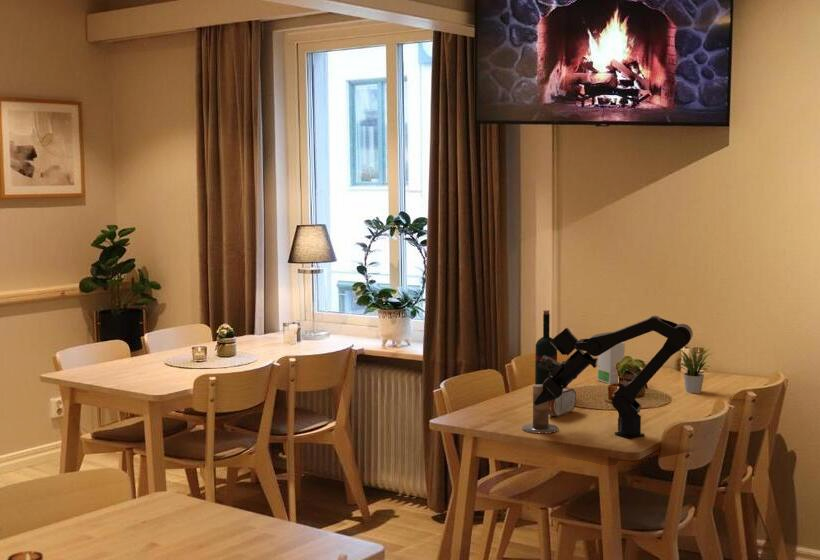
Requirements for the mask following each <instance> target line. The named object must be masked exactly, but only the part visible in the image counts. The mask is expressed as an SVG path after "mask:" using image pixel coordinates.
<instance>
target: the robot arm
mask: <svg viewBox="0 0 820 560" xmlns="http://www.w3.org/2000/svg"><path fill="white" fill-rule="evenodd" d="M651 332H655V333H656V334H659V335H661V336H662V337H664V338H666V340H665V342H664V344H663V345H662V347H661V348H660V349H659V350H658V351H657V352H656V353H655V355H654V356H653V357H652V358H651V359H650V360H649V361H648V363H646V364H645V366H644V367H643V368H642V369H641V370H640V371H639V373H638V374H637V375H636V376H635V377H634V378H633V379H632V380H631V381H629V382H627V380H625V379H623V383H620V386H618V387H617V388H616V389H615V390H614V392H613V397H612V399H611V402H612V403H611V405H612V407H613V408H614V409H615V410H616V411H617V412H618V418H617V431H615V432H614V435H617V436H621V437H623V438H626V439H631V438H632V439H633V438H639V437H644V436H645V435H646V434H645V433H643V432H641V431H642V430H641V429H642V427H641V426H642V425H641V424H642V416H641V415H640V411H641V410H642V407H643V406H642V405H641V404H640V403H639V402H638V401H637V400H636V399H637V397H638V395H639V394H640V393H641V390H643V388H644V387H645V386H646V385H647V384H648V382H649V381H650V380H651V379H652V378H653V377H654V376H655V375H656V373H657V372H658V371H659V370H660V369H661V368H662V367H663V366H664V365H665V363H666V362H668V360H669V359H670V358H671V357H672V356H673V355H675V354H676V353H678V352H679V351H680V350H682V349H683V348H684V347H686V346H687V345H688V344H689V343H690V342H691V340H692V338H693V329H692V328H691V327H690V325H688V324H685V323H679V324H678V323H675V322H674V321H671V320H667V319H664V318H661V317H660V316H658V315H651V316H650V317H648V318H647V319H643V320H642V321H638V322H635V323H633V324H630V325H627V326H625V327H622V328H620V329H617V330H615V331H609V332H603V333H602V332H601V333H597V334H594V335H591V336H590V337H589V338H580V339H578V338H577V337H576V336H575V335H574V334H573V333H572V332H571V330H570V328H568V327H565V328H564V329H563V330H561V332H559V333H558V334H557V335H556V336H554V337H552V340H551V342H550V343H551V344H552V345H553V346H554V347H555V348H556V349H557V352H559V353H560V354H561V356H569V355H570V354H571V355H570V356H569V357H568V358H567V359H566V360H562V362H559V361H558V360H557V361H556V360H554V359H552V358H550V357H547V356H545V355H544V356H543V357H542V359H541V361H540V363H539V365H538V366H539V367H540V368H543V369H545V370H547V371H549V372H550V373H549V375H548V378H547V379H546V380H545V381H544V383H543V391H542V392H541V393H540V395H539V396H538V398H537V399H536V400H535V402H534V404H535V405H539V404H541V403H544V402H547V401H550V400H553V399H557V398H559V397H560V396H561V395H562V394H563V388H566V387H568V386H569V385H570V384H571V383H572V381H574V380H575V379H577V378H578V376H579V375H580V374H581V373H582V372H583V371H584V370H585V369H587V368H588V367H589V366H590V365H591V367H592V368H594V369H596V368H598V356H599V355H601V354H602V353H604V352H606V351H607V350H609V349H610V348H612V347H614V346H615V345H617V344H619V343H622V342H624V343H625V342H627V341H630V340H632V339H634V338H637V337H641V336H642V335H645V334H648V333H651ZM574 350H576V351H574ZM573 351H574V353H572V352H573ZM551 375H552V376H551Z"/></svg>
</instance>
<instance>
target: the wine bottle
mask: <svg viewBox="0 0 820 560" xmlns="http://www.w3.org/2000/svg"><path fill="white" fill-rule="evenodd" d="M542 315H543V317H542V319H543V320H542V322H543V323H542V328H543V330H542V337H540V338H539V339H538V340H537V341H536V342H535V343H536V344H535V351H534V352H535V367H534V368H535V371H534V374H535V375H534V376H535V377H534V378H535V379H534V382H535V383H534V385H537V384H543V383H544V381H545V380H546V379H547V378H548V375H549V373H550V372H549V371H547V370H545V369H543V368H540V367H539V366H538V365H539V363H540V361H541V359H542V357H543V356H544V355H545V356H547V357H550V358H552V359H554V360H556V361H557V362H558V350H557V349H556V348H555V347H554V346H553V345H552V344H551V343H550V342H551V340H552V339H553V337H551V336H550V330H551V329H550V317H551V316H550V309H549V310H543V313H542ZM551 376H552V375H551Z"/></svg>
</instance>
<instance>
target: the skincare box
mask: <svg viewBox="0 0 820 560" xmlns="http://www.w3.org/2000/svg"><path fill="white" fill-rule="evenodd" d="M625 343H626V342H625V341H624V342H622V343H619V344H617V345H615V346H614V347H612V348H610V349H609V350H607V351H606V352H604V353H602V354H601V355H599V356H597V359H598V360H597V376H596V377H597V378H596V379H597V381H600V382H602V383H605V384H608V385H616V384H617V385H618V384H619V383H618V374H617V370H616V364H617V363H618V362H619V361H621V359H623V358H624V359H625V345H626V344H625Z"/></svg>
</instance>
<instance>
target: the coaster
mask: <svg viewBox="0 0 820 560" xmlns="http://www.w3.org/2000/svg"><path fill="white" fill-rule="evenodd" d="M521 430H522V431H524V430H525V431H524V432H526V431H528V432H527V433H529V432H537V433H538V432H540V433H546V432H547V433H548V432H554V431H557V430H558V431H559V427H558V426H557V425H554V424H550V423H549V428H548V429H544V430H539V429H534V428H533V423H528V424H527V423H526V424H524V425H523V426H522V429H521ZM558 431H557V432H558ZM554 433H555V432H554ZM548 434H549V433H548Z"/></svg>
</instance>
